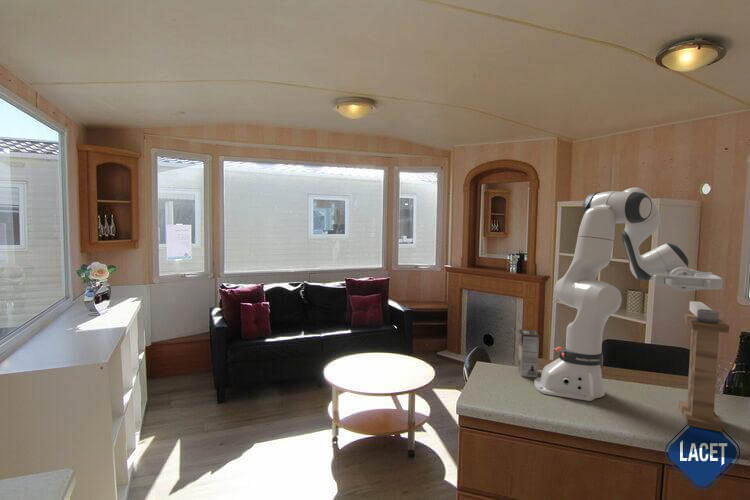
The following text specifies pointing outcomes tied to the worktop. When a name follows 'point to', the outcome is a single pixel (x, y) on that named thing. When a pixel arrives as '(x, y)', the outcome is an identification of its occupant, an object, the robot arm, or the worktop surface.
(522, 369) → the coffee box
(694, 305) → the jaw bar
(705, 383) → the stand
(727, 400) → the worktop surface
